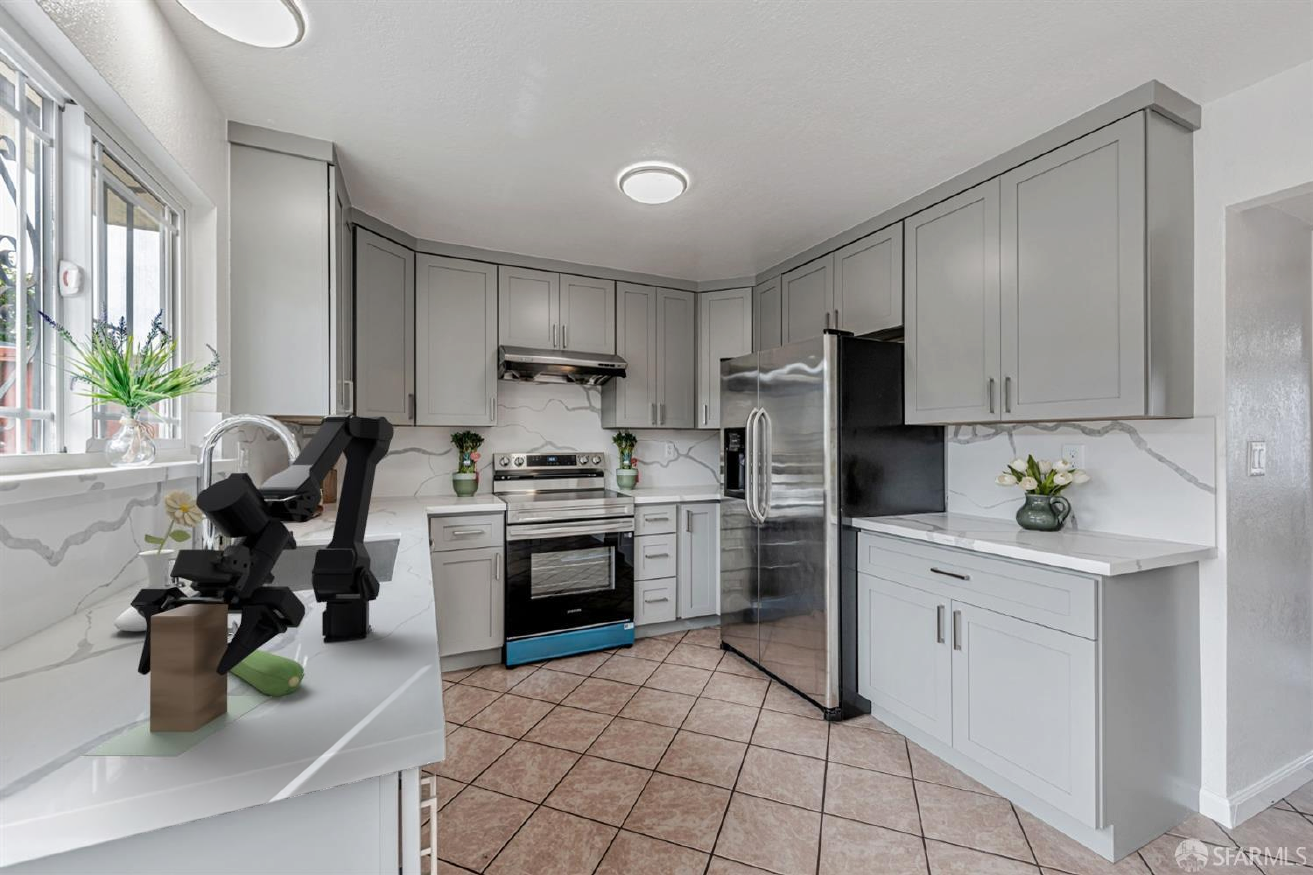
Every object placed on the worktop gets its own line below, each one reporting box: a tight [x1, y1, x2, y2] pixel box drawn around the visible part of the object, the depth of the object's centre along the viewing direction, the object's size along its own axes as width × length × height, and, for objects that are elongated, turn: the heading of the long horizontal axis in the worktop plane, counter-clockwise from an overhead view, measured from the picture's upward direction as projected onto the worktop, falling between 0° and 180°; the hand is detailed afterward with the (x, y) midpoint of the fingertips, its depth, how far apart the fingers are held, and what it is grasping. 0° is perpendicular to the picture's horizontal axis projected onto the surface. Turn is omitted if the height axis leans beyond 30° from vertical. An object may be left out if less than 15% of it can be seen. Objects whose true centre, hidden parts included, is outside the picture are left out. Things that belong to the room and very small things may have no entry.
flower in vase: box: [113, 489, 204, 632], centre depth 107 cm, size 13×11×25 cm
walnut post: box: [149, 604, 229, 732], centre depth 68 cm, size 5×5×13 cm
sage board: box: [83, 695, 274, 757], centre depth 68 cm, size 14×10×1 cm
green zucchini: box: [229, 649, 305, 697], centre depth 81 cm, size 5×20×5 cm
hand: (180, 673), depth 67 cm, fingers open, 9 cm apart
